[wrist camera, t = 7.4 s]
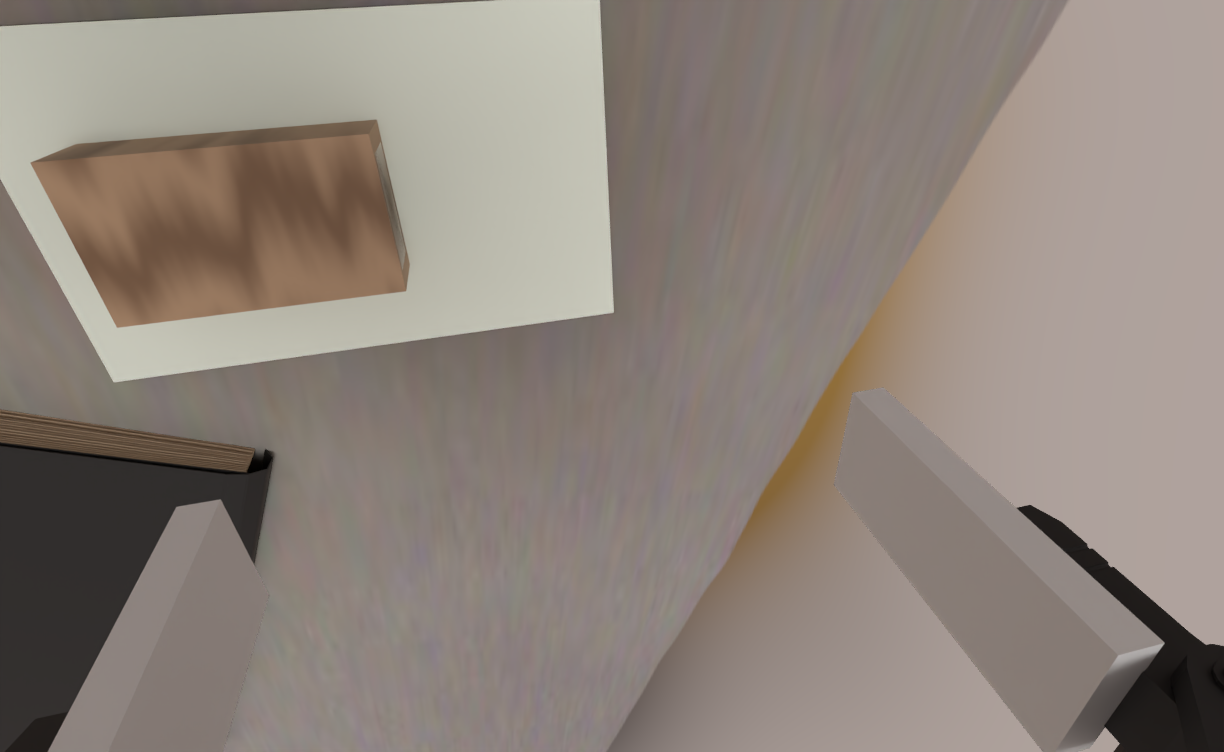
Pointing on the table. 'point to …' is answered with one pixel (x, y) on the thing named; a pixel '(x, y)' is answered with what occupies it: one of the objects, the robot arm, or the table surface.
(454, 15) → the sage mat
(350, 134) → the walnut block
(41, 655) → the file folder
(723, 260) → the table surface
